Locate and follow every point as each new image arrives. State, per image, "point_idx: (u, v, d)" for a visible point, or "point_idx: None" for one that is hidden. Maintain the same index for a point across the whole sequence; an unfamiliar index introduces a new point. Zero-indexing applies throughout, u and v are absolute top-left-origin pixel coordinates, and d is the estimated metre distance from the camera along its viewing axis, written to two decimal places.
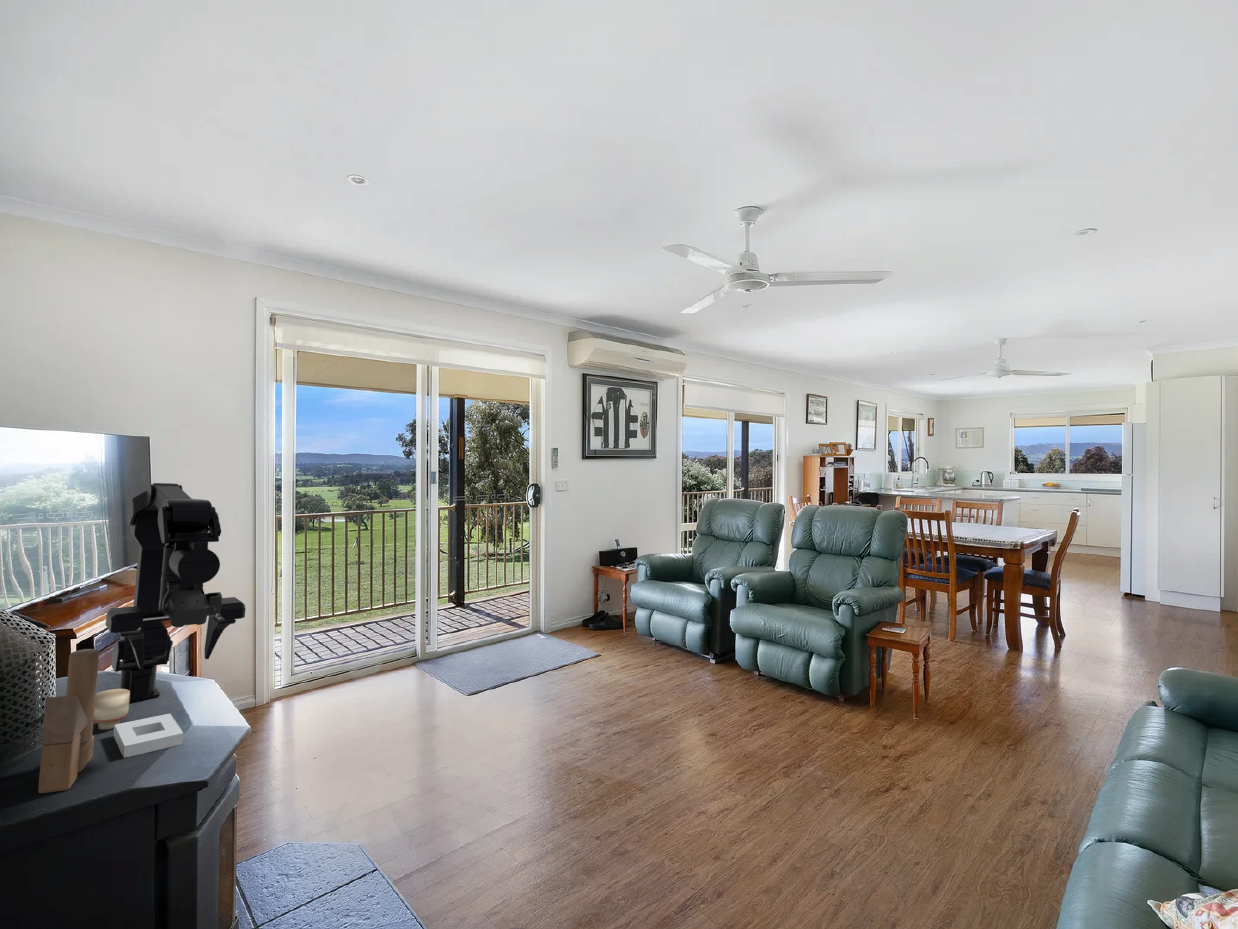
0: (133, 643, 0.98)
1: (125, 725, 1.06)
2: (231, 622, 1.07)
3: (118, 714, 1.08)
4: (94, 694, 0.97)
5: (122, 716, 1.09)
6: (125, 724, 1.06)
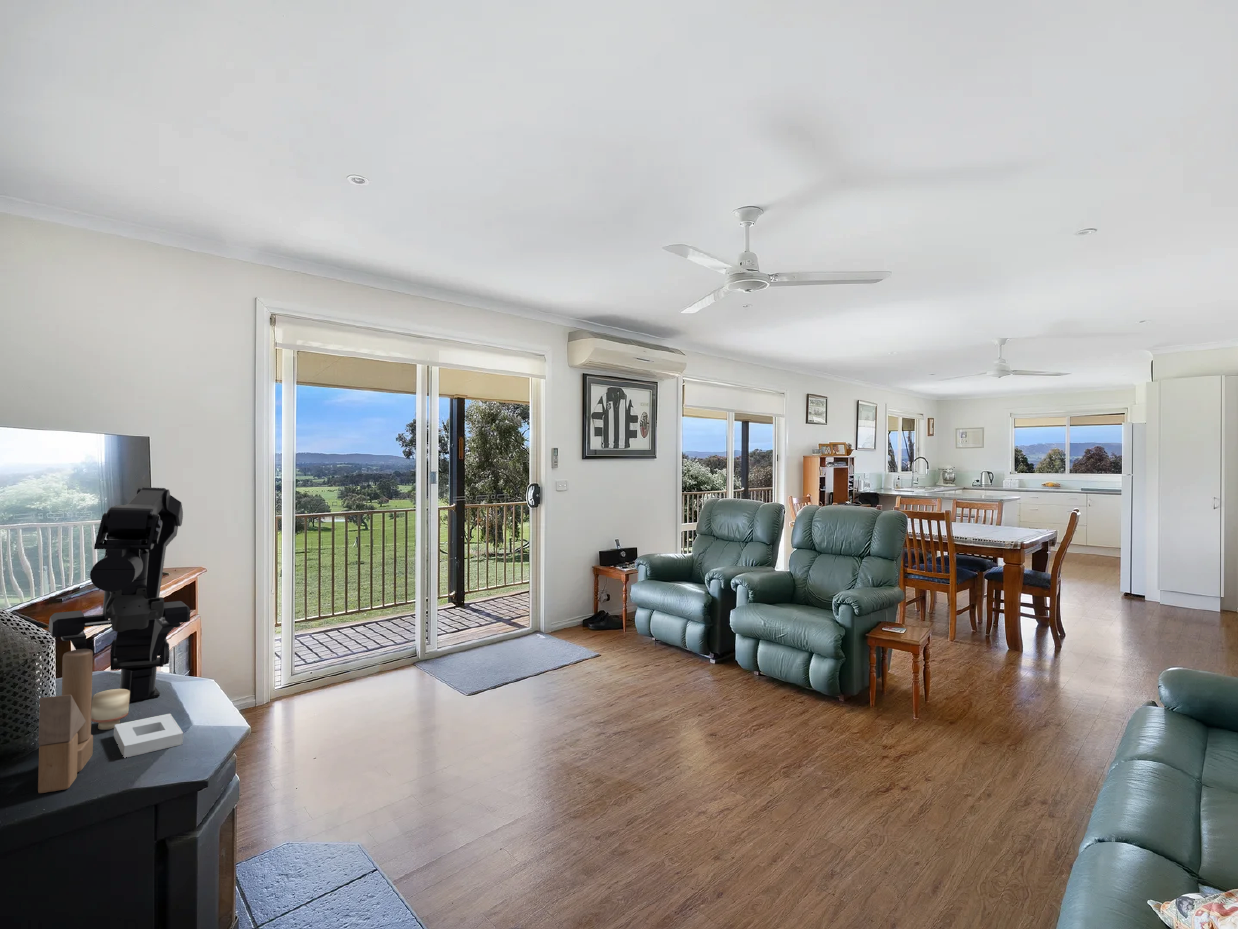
0: (76, 647, 1.01)
1: (125, 725, 1.06)
2: (176, 626, 1.10)
3: (118, 714, 1.08)
4: (90, 693, 0.97)
5: (122, 716, 1.09)
6: (125, 724, 1.06)
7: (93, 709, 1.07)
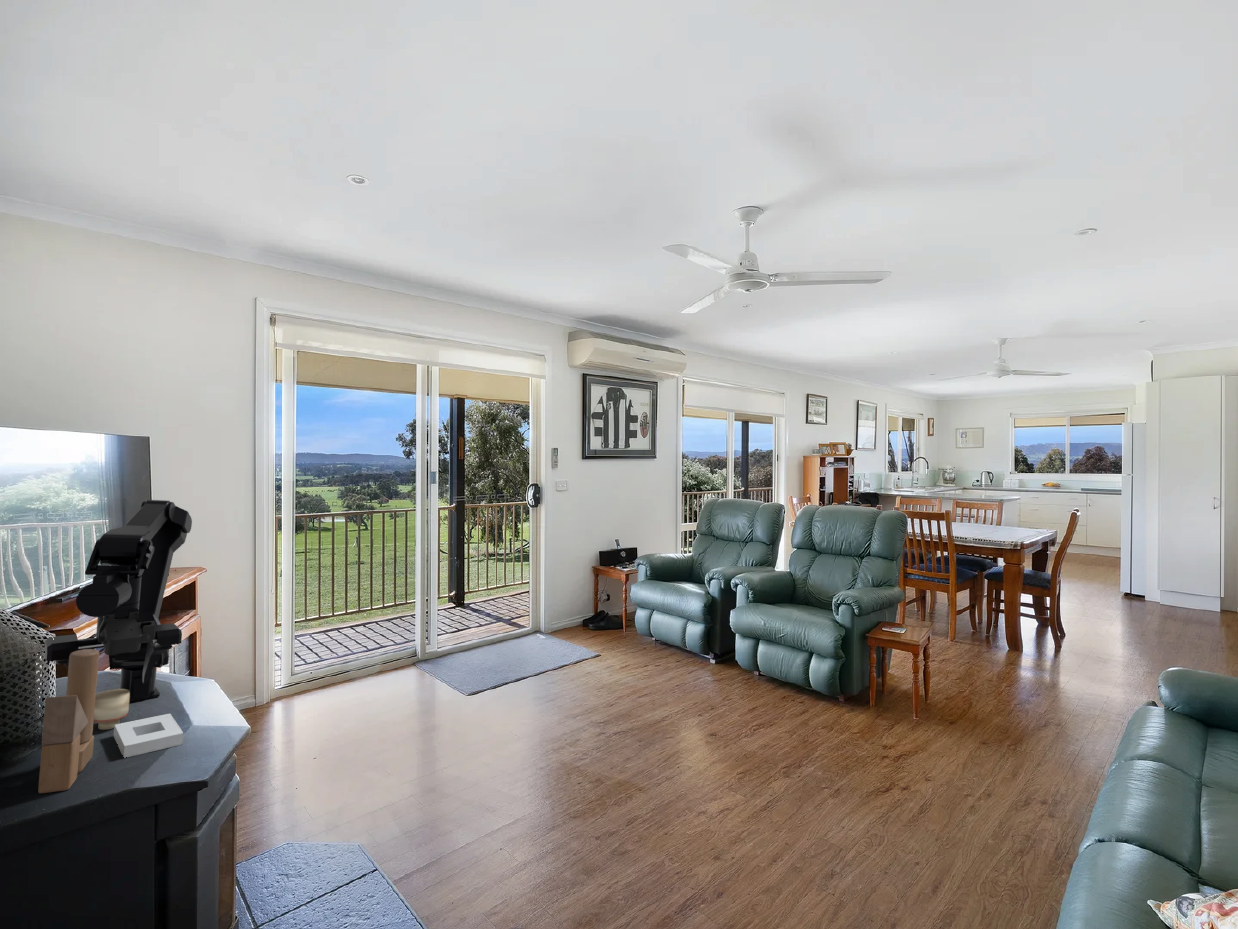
0: None
1: (125, 725, 1.06)
2: (167, 648, 1.13)
3: (118, 714, 1.08)
4: (94, 694, 0.97)
5: (122, 716, 1.09)
6: (125, 724, 1.06)
7: None
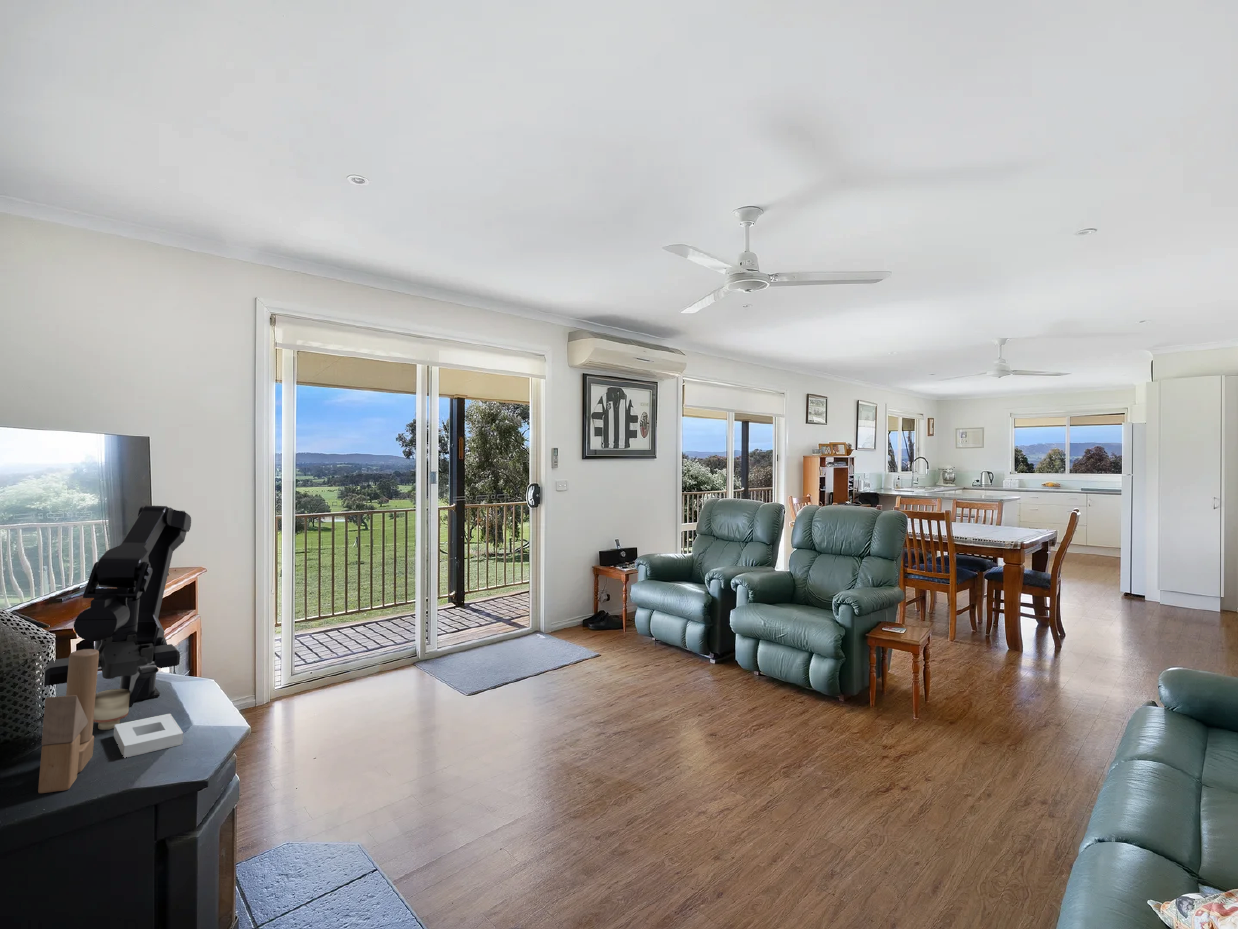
0: None
1: (125, 725, 1.06)
2: (153, 672, 1.11)
3: (118, 714, 1.08)
4: (94, 694, 0.97)
5: (122, 716, 1.09)
6: (125, 724, 1.06)
7: None
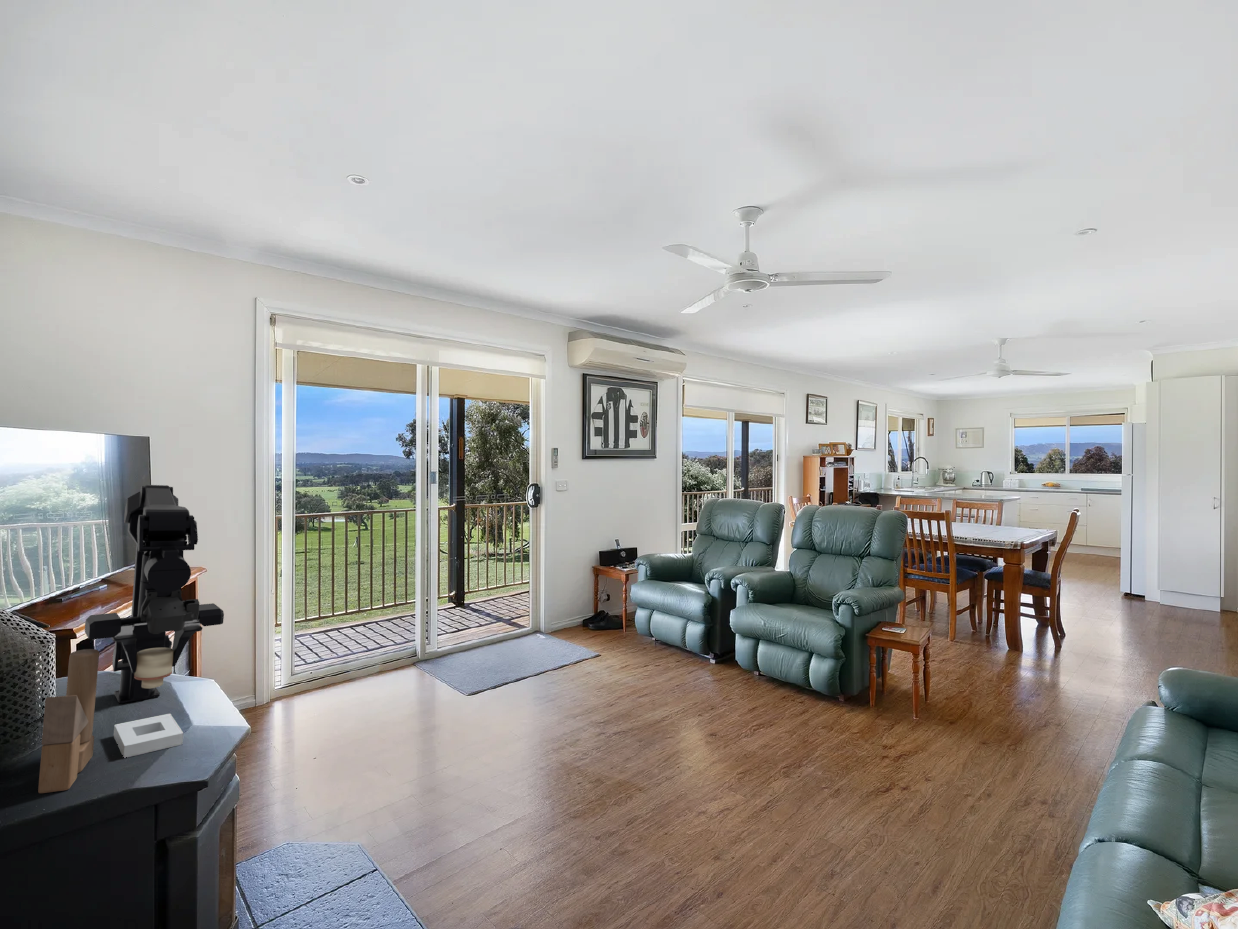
0: (126, 647, 1.01)
1: (125, 725, 1.06)
2: (197, 630, 1.07)
3: (162, 672, 1.04)
4: (94, 694, 0.97)
5: (166, 675, 1.05)
6: (125, 724, 1.06)
7: (137, 666, 1.03)
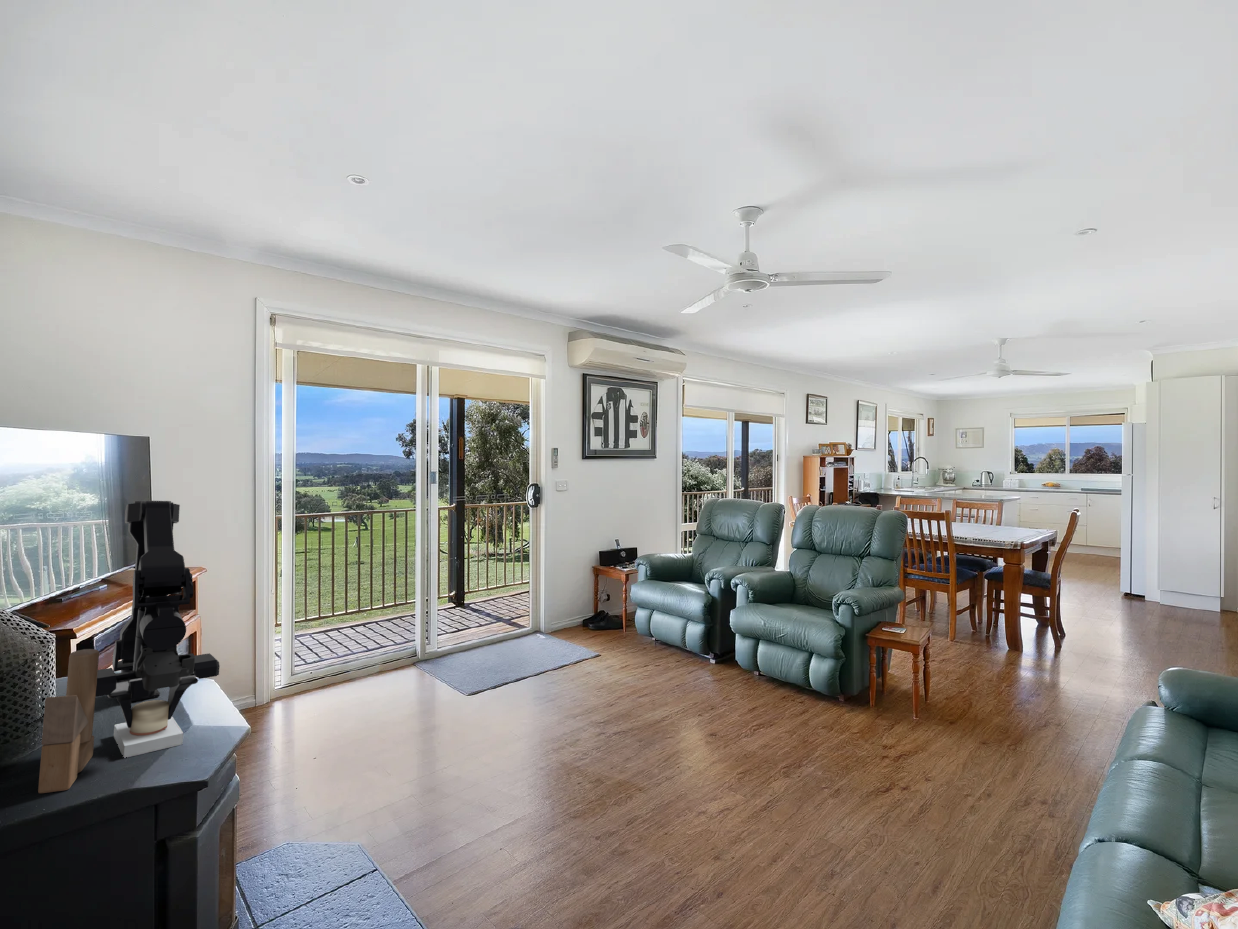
0: (121, 703, 1.01)
1: (125, 725, 1.06)
2: (193, 682, 1.07)
3: (158, 727, 1.04)
4: (94, 694, 0.97)
5: (162, 729, 1.05)
6: (125, 724, 1.06)
7: (132, 722, 1.03)
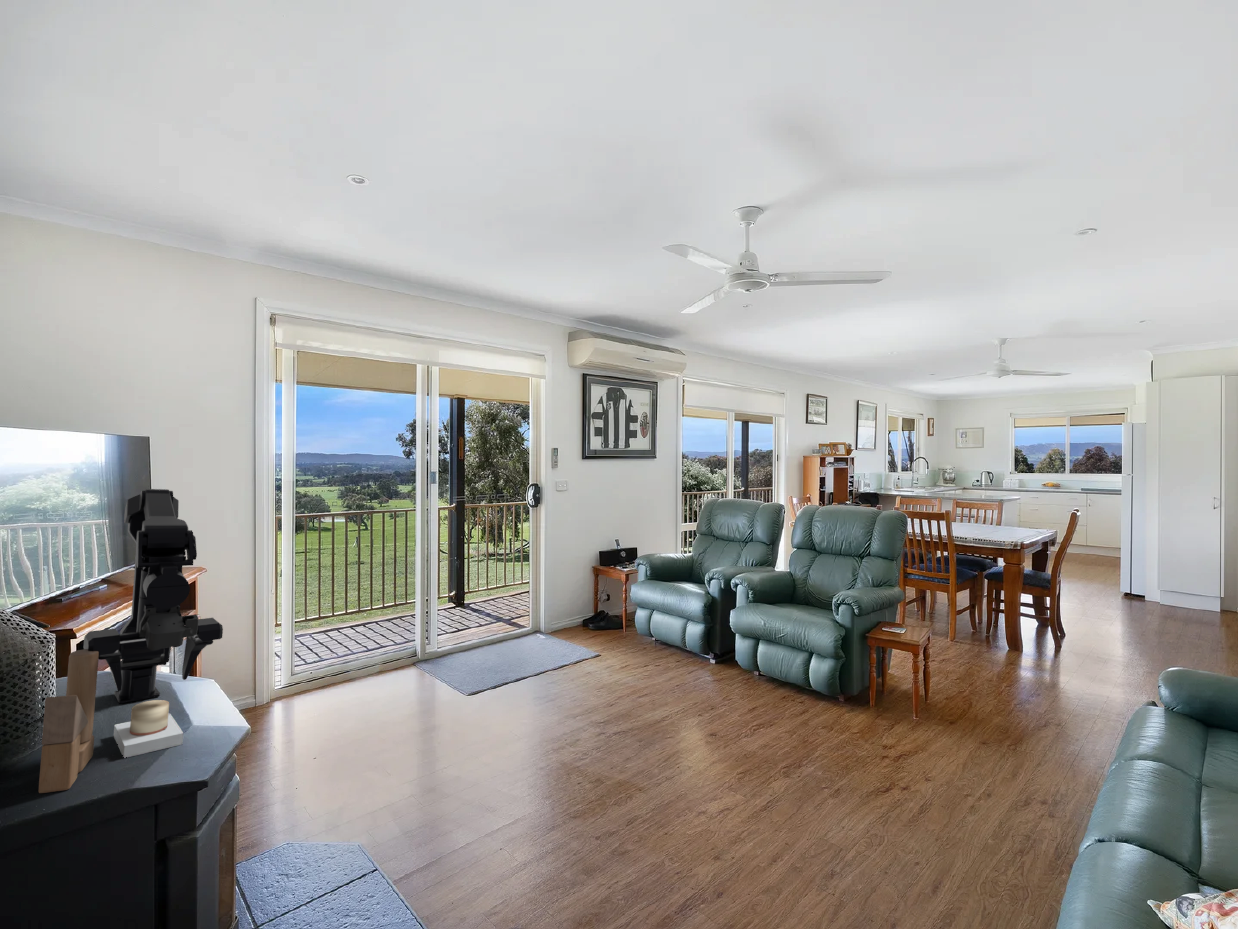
0: (111, 665, 1.00)
1: (125, 725, 1.06)
2: (208, 643, 1.09)
3: (158, 727, 1.04)
4: (94, 694, 0.97)
5: (162, 729, 1.05)
6: (125, 724, 1.06)
7: (132, 722, 1.03)
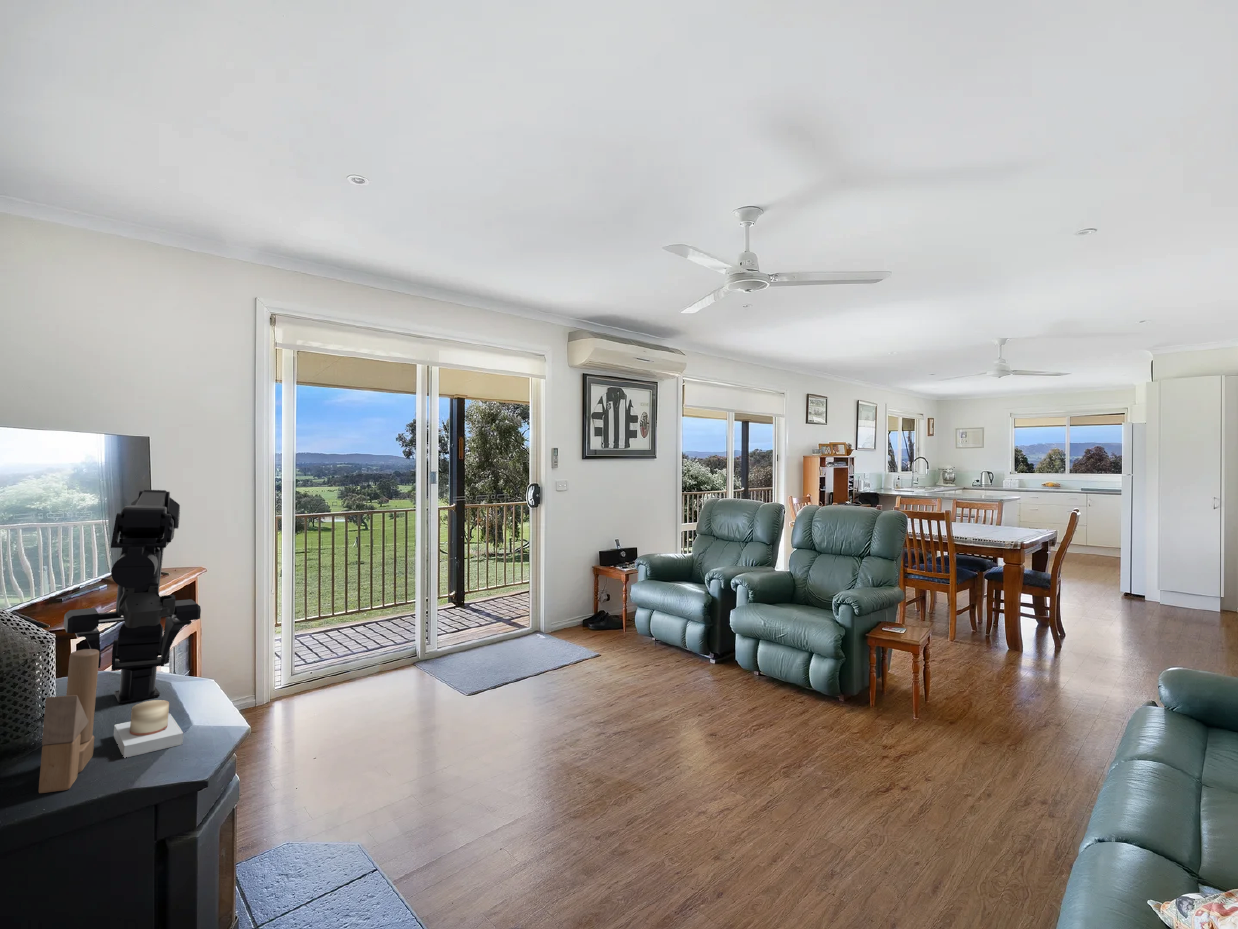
0: (90, 643, 1.03)
1: (125, 725, 1.06)
2: (186, 623, 1.12)
3: (158, 727, 1.04)
4: (94, 694, 0.97)
5: (162, 729, 1.05)
6: (125, 724, 1.06)
7: (132, 722, 1.03)
